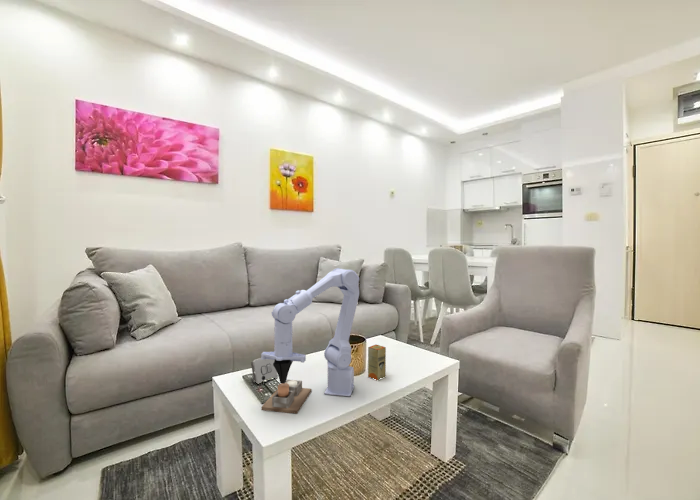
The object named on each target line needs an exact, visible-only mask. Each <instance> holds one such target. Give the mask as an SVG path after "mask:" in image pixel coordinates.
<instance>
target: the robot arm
mask: <svg viewBox="0 0 700 500" xmlns="http://www.w3.org/2000/svg"><path fill="white" fill-rule="evenodd" d="M359 281H360V277H359V275H358V274H357V272H356V271H355V270H353V269H347V268H346V269H345V268H340V267H336V268H334V269H332V270H331V271H329V272H328V273H327V274H326V275H324V277H322V278H321V279H320V280H318V281H317V282H316V283H314V284H313V285H312V286H310V287H309V288H308V289H306V290H305V289H301V290H299V289H297V290H296V291H295V293H294V295H292V296H291V297H289V298H286V299H284V300H283V302H279V303H277V304H276V305H275V306H274V308H273V309H272V311H271V317H272V318H273V319H274V333H273V334H274V335H273V336H274V338H273V339H274V340H273V341H274V346H273V347H274V349H273V350H274V351H262V353H260V355H261V357H260V358H261V359H262V360H264V359H273V360H275V361H274V363H273V366H274V367H275V369H276V371H277V374H278V379H279V384H284V383H285V382H286V381H287V380H288V379H287V378H288V374H289V373H290V372H289V371H290V368H291V366H292V364H293V362H298V363H299V362H300V363H303V364H304V363H305V361H307V360H306V359H307V358H306V357H307V356H306V354H302V353H298V352H294V351H293V322H294V320H295V318H296V315H298V314H299V313H300V312H302V311H303V310H305V309H306V308H308V307H309V306H310V305H312V303H313V299H314V298H315V297H317V296H319V295H320V294H322V293H323V292H326V291H327V290H328V289H329V288H333V287H337V288H338V289H339V290H340V291H341V293H342V294H343V297H342V302H341V305H340V306H341V307H340V311H339V315H338V319H337V323H336V327H335V332H334V335H333V337H332V338H331V339H329V341H328V345H327V347H326V348H325V349H324V355H323V356H324V358H325V360H326V361H327V387H326V389H325V391H324V392H323V393H324V395H328V396H329V395H331V396H339V397H340V396H341V397H351V396H352V394H353V390H354V388H355V369H354V368H355V367H353V366H351V365H350V364H351V362H352V347H351V344H350V335H351V332H352V328H353V324H354V318H355V314H356V310H357V306H358V301H359V297H360V288H359V287H360V286H359Z"/></svg>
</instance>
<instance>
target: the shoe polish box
mask: <svg viewBox="0 0 700 500" xmlns="http://www.w3.org/2000/svg"><path fill="white" fill-rule="evenodd" d="M386 350H387V348H386V347H385V346H384V345H379V344H373V345H371V346H368V347H367V378H369V377H371V378H374V379H376V380H375V381H377V380H379V379H380V378H383V377H385V376H386V377H387V375H386V373H387V372H386V367H387V365H386V361H387V359H386V358H387V357H386V355H387V354H386V352H387V351H386ZM386 377H385V378H386ZM371 378H370V379H371ZM374 379H373V380H374ZM383 379H384V378H383ZM379 381H380V380H379Z"/></svg>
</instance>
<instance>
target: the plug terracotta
mask: <svg viewBox="0 0 700 500" xmlns="http://www.w3.org/2000/svg"><path fill="white" fill-rule="evenodd" d="M277 389H278V397H287V396H288V395H289V384H287V383H284V384H282V383H279V384H278V385H277Z"/></svg>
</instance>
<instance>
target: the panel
mask: <svg viewBox="0 0 700 500" xmlns="http://www.w3.org/2000/svg"><path fill="white" fill-rule="evenodd" d="M291 380H292V379H287V380H286V382H285V383H287V382H288V381H291ZM294 380H295V381H297V386H296V387H295V386H289V395H288V396H287V397H278V390H277V389H276V390H275V391H274V392H273V393H272V394H271V396H270V397H268V399H267V400H266V401H265V402H264V403H263V404H262V406H261V408H260V409H261V411H265V412H276V413H277V412H278V413H284V414H285V413H287V414H295V415H298V413H299V412H300V410H301V409H302V407H303V406H304V405H305V402H306V401H307V399H308V398H309V397H310V394H311V393H312V388H307V387H303V381H302V380H298V379H294Z"/></svg>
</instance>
